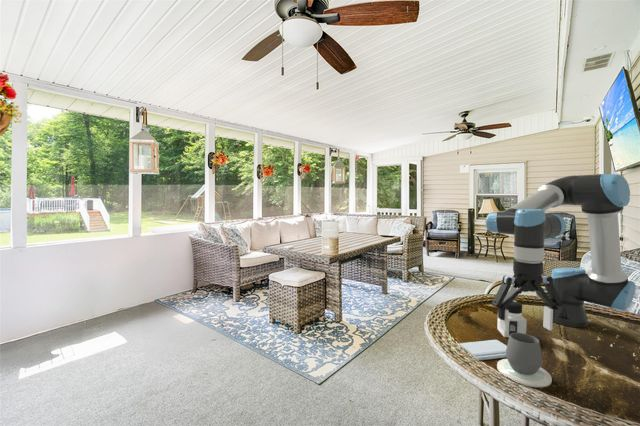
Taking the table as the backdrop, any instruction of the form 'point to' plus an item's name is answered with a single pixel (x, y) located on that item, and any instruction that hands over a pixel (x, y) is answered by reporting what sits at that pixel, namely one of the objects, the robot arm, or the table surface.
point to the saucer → (525, 375)
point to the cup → (524, 353)
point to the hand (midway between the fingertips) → (525, 329)
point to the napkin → (485, 349)
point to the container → (514, 320)
